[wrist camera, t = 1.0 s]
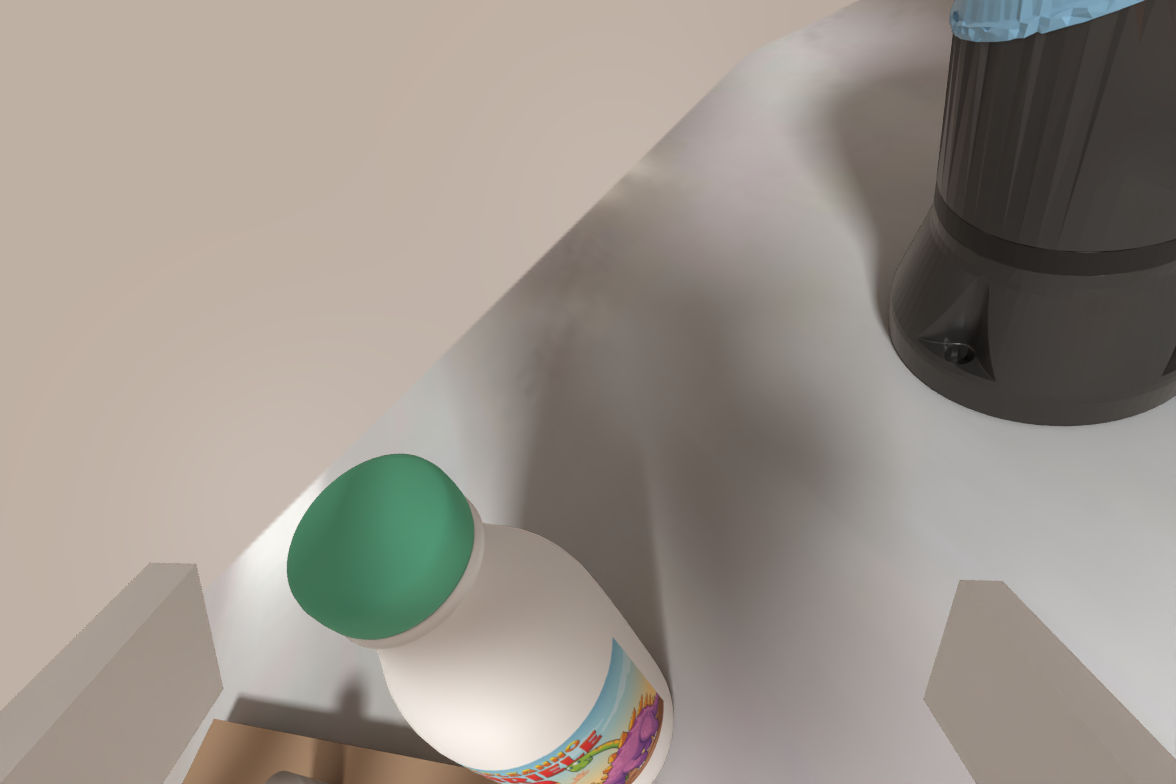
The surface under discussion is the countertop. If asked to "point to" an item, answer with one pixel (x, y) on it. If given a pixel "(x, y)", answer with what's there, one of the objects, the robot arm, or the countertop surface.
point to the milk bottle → (481, 630)
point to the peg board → (308, 761)
